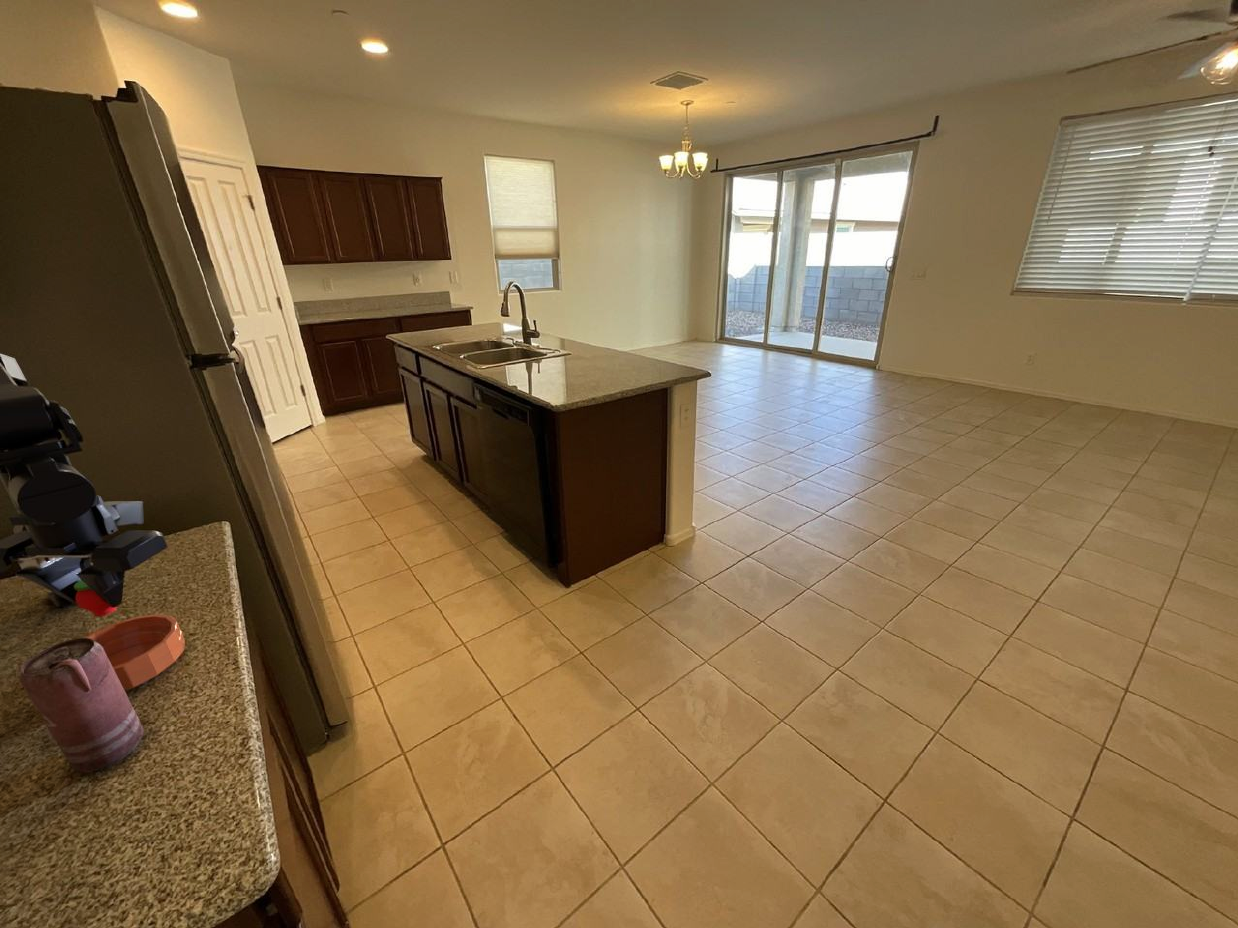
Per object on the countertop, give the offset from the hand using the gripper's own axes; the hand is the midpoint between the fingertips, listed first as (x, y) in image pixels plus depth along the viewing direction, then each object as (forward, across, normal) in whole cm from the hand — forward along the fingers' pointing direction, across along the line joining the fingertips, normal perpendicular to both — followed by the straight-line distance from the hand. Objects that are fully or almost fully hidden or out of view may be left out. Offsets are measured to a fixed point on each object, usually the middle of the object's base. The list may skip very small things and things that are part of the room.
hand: (102, 605), depth 66 cm
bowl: (+10, 0, 0) cm, 10 cm away
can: (+10, -10, +13) cm, 20 cm away
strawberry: (+1, 0, 0) cm, 1 cm away
